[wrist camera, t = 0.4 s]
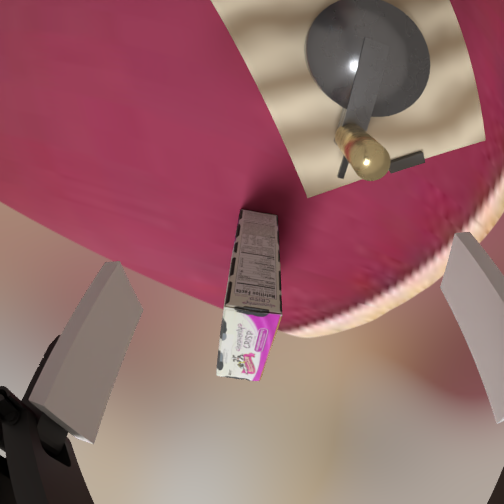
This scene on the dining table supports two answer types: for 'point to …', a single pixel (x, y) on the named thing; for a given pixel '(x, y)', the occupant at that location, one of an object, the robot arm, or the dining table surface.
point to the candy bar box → (251, 298)
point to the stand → (328, 112)
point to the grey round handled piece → (366, 73)
